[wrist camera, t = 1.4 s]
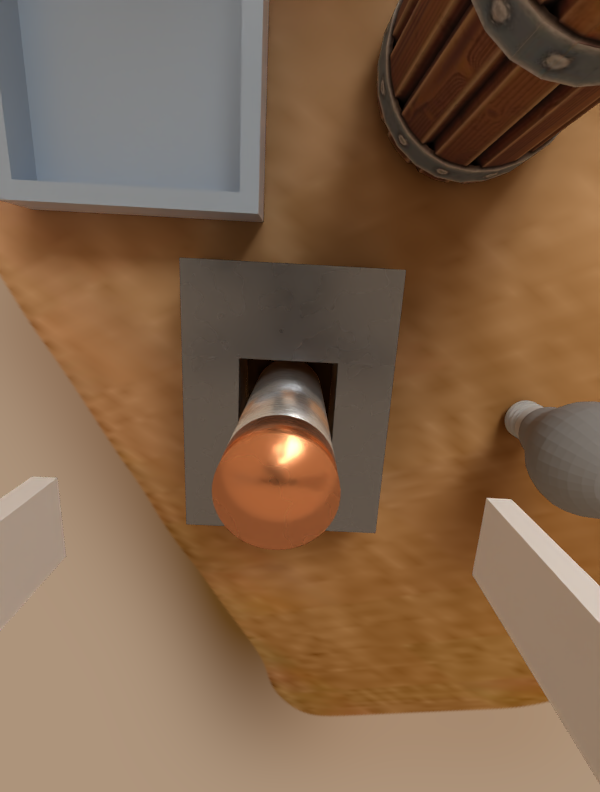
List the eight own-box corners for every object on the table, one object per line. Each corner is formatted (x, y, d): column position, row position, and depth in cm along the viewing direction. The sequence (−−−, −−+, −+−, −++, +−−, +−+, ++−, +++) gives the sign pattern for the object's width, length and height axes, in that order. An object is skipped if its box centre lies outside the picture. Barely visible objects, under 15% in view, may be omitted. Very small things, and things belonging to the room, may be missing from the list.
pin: (257, 356, 27) (211, 430, 13) (323, 360, 27) (345, 437, 13) (255, 419, 28) (212, 546, 14) (318, 423, 28) (335, 552, 14)
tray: (-3, -88, 21) (-53, -149, 18) (271, -71, 21) (266, -129, 18) (31, 209, 24) (-5, 198, 21) (263, 222, 24) (258, 213, 22)
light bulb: (576, 430, 28) (722, 507, 18) (496, 471, 29) (595, 564, 19) (544, 357, 27) (683, 398, 17) (461, 402, 27) (549, 465, 18)
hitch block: (198, 261, 25) (179, 257, 21) (389, 272, 25) (406, 269, 21) (201, 492, 29) (186, 524, 25) (365, 500, 29) (375, 533, 26)
